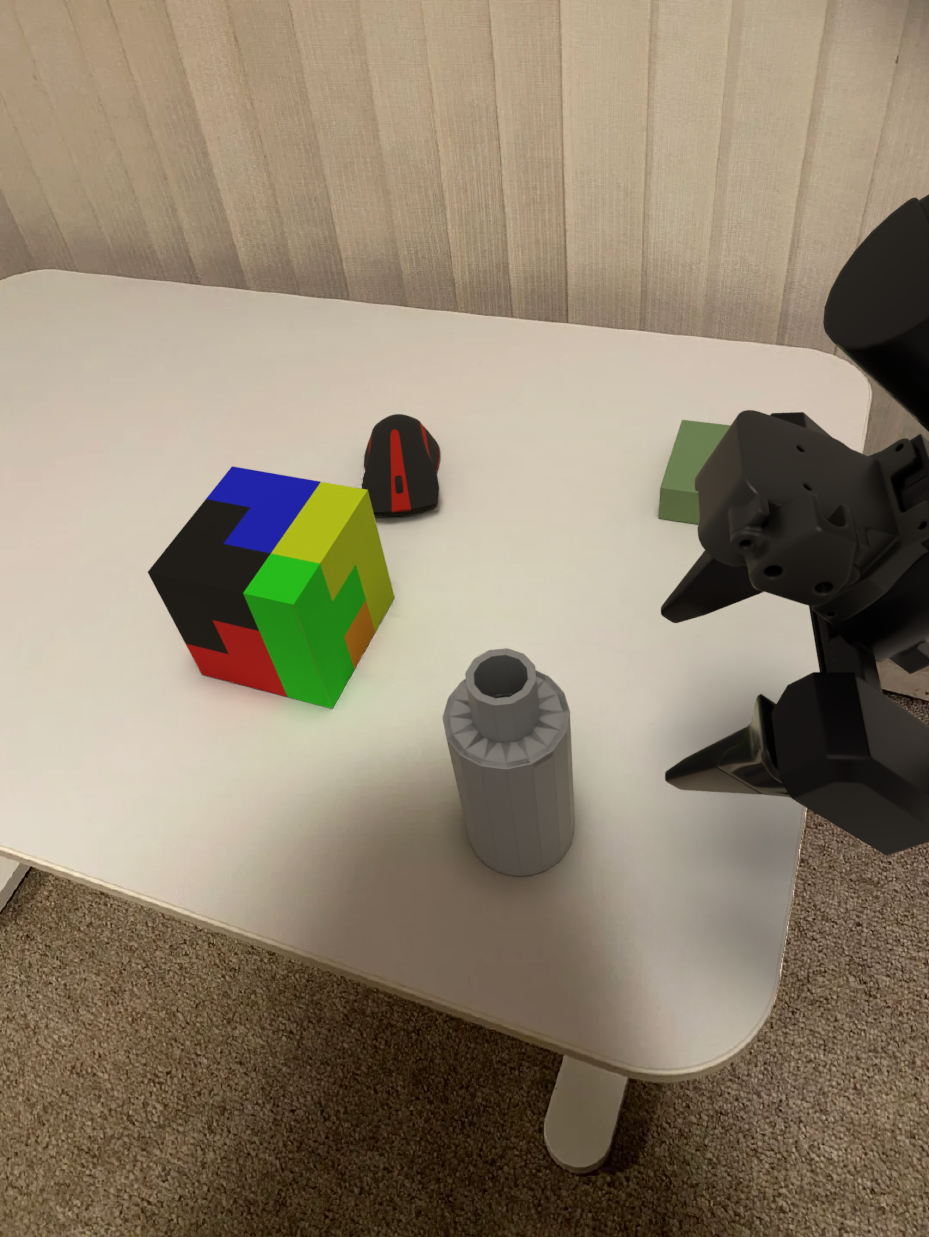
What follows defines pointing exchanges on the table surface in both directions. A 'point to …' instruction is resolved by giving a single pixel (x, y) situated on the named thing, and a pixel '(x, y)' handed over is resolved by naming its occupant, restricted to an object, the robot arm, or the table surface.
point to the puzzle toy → (277, 583)
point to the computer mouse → (401, 467)
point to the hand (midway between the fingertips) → (668, 693)
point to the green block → (687, 469)
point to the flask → (512, 762)
